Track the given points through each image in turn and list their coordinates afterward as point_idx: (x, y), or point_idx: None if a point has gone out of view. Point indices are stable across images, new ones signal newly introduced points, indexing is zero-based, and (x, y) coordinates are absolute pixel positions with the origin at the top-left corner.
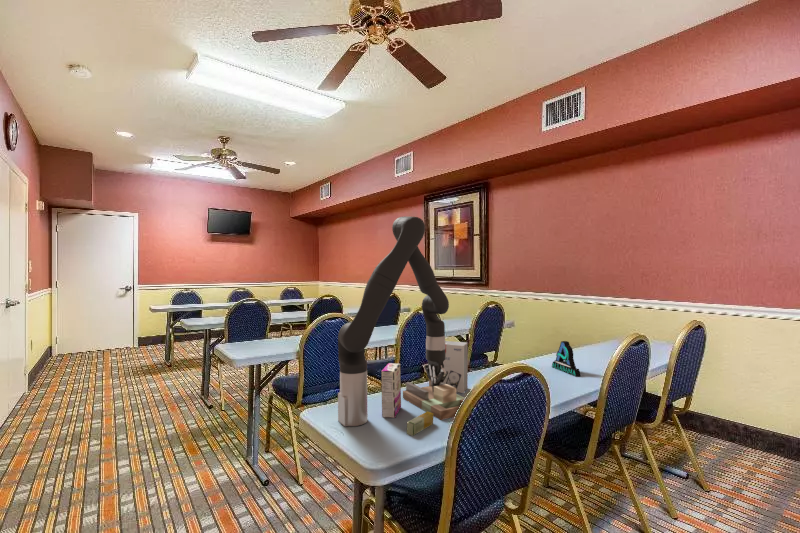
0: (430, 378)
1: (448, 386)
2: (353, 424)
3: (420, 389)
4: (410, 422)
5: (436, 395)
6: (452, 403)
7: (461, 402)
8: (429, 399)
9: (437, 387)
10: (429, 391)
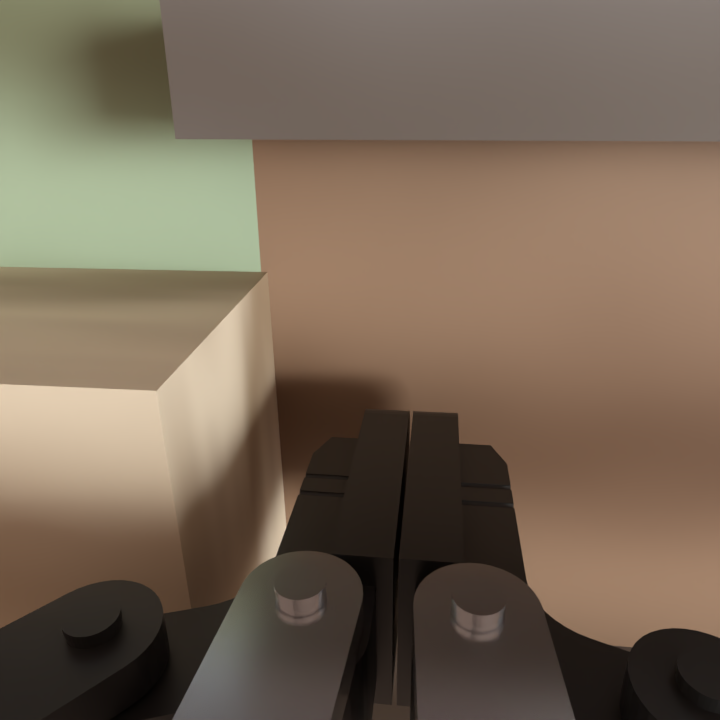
0: (628, 690)
1: None
2: None
3: (530, 8)
4: None
5: (115, 300)
6: None
7: None
8: (254, 152)
9: (14, 431)
10: (717, 469)
